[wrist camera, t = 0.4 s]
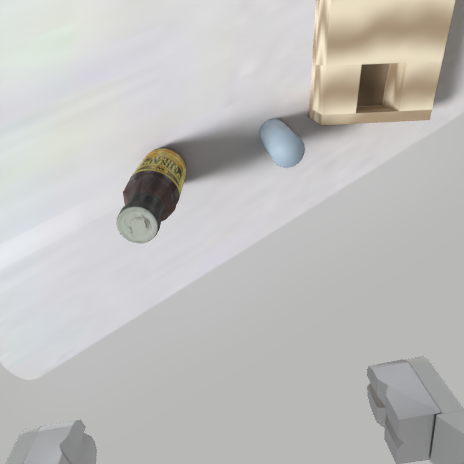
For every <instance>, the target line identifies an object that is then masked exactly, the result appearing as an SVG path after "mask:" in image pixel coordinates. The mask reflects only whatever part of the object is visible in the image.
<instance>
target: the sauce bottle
mask: <svg viewBox="0 0 464 464" xmlns="http://www.w3.org/2000/svg"><path fill="white" fill-rule="evenodd" d="M185 177H186V166H185V162H184V159H183V158H182V157H181V156H180V155H179V154H178V153H177V152H176V151H174V150H172V149H168V148H160V149H155V150H153V151H152V152H150V153H149V154H148V155H147V156H146V157H145V158H144V160H143V161H142V163H141V164H140V165H139V167H138V168H137V170H136V171H135V172H134V174H133V175H132V176H131V178H130V180H129V182H128V184H127V186H126V188H125V190H124V191H123V196H124V203H125V206H124V207H123V208H122V210H121V211H120V213H119V215H118V218H117V228H118V230H119V232H120V234H121V235H122V236H123V237H124V238H125V239H127V240H128V241H131V242H135V243H145V242H148V241H150V240H151V239H153V238H154V237H155V236H156V234H157V232H158V231H159V228H160V224H161V221H163V220H165V219H167V218H168V217H169V216H170V215H171V214H172V213H173V211H174V210H175V208H176V204H177V203H178V200H179V197H180V194H181V190H182V187H183V184H184V180H185Z"/></svg>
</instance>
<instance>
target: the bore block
mask: <svg viewBox="0 0 464 464" xmlns="http://www.w3.org/2000/svg"><path fill="white" fill-rule="evenodd" d="M454 5H455V0H316V13H315V28H314V44H313V60H312V76H311V92H310V108H309V118H311V119H312V120H314V121H316V122H317V123H319V124H320V125H336V124H357V123H377V122H398V121H418V120H430V116H431V111H432V107H433V102H434V97H435V93H436V88H437V84H438V79H439V74H440V70H441V65H442V60H443V56H444V51H445V46H446V42H447V37H448V32H449V28H450V23H451V19H452V14H453V9H454Z"/></svg>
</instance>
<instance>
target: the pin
mask: <svg viewBox="0 0 464 464" xmlns="http://www.w3.org/2000/svg"><path fill="white" fill-rule="evenodd" d="M260 139H261V141H262V143H263V145H264V146H265V148H266V149H267V151H268V153H269V154H270V156H271V158H272V159H273V161H274V162H275V163H276V164H277V165H278V166H280V167H284V168H288V167H292V166H295V165H296V164H298V163H299V162H300V161H301V159H302V158H303V155H304V151H305V147H304V143H303V141H302V140H301V139H300V138H299V137H298V136H297V135H296V134H295V133H294V132H293V131H292V130H291V129H290V128H289V127H288V126H287V125H285V124H284V123H283V122H282V121H281V120H278V119H270V120H268V121H266V122H265V123H264V124H263V125H262V127H261V129H260Z"/></svg>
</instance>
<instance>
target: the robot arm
mask: <svg viewBox="0 0 464 464" xmlns="http://www.w3.org/2000/svg"><path fill="white" fill-rule="evenodd" d="M367 376H368V378H369V380H370V382H371V383H370V384H369V385H368V387H367V390H368V398H369V403H370V406H371V409H372V412H373V414H374V417H375V419H376V421H377V423H379V424H380V425H381V426H383V427H384V428H385V441H386V443H387V445H388V447H389V449H390V451H391V454H392V455H393V458H394V460H395V462H396V464H401V463H408V462H415V461H423V460H430V461H431V463H433V464H464V408H463V407H462V406H461V404H460V403H459V402H458V400H457V399H456V397H455V396H454V395H453V393H452V392H451V391H450V389H449V388H448V386H447V385H446V384H445V382H444V381H443V379H442V378H441V377H440V375H439V374H438V373H437V371H436V370H435V369H434V367H433V366H432V364H431V363H430V362H429V360H428V359H427V358H425V357H424V356H422V357H416V358H411V359H406V360H398V361H393V362H388V363H383V364H378V365H373V366H369V367H368V369H367ZM84 430H85V426H84V424H83V422H82V421H81V420H76V421H71V422H64V423H57V424H51V425H45V426H38V427H33V428H27V429H25V430H24V431H23V432H22V433H21V434H20V435H19V437H18V439H17V441H16V443H15V445H14V447H13V449H12V451H11V453H10V455H9V457H8V459H7V461H6V463H5V464H96V446H95V442H94V440H93V438H92V437H91V436H89V435H87V434H85V433H84Z"/></svg>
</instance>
